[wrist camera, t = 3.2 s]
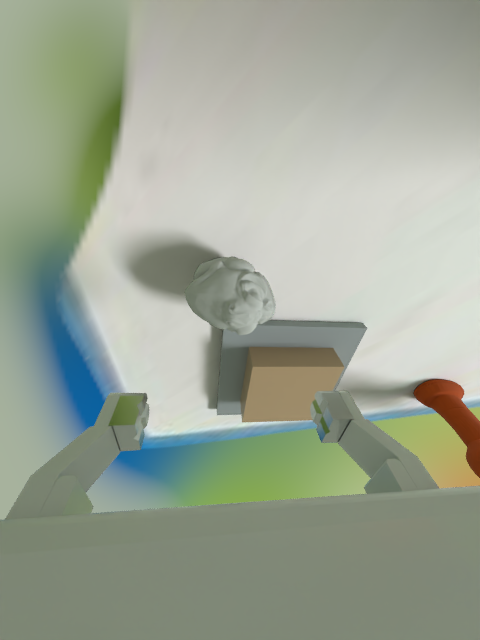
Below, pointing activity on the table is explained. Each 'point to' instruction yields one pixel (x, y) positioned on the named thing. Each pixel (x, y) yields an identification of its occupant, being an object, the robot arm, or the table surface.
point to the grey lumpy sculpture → (231, 295)
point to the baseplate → (279, 338)
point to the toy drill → (453, 414)
